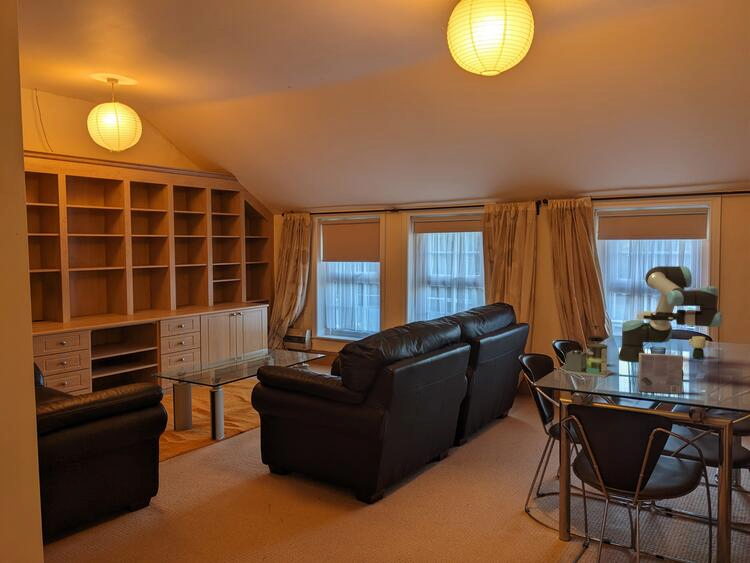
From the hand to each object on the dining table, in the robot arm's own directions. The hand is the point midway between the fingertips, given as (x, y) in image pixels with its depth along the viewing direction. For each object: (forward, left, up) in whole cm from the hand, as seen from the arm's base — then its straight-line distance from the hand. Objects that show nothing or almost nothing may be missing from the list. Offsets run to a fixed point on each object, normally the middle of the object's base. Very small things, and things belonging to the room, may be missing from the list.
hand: (639, 314), depth 304 cm
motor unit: (+5, -24, -32) cm, 40 cm away
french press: (-15, -26, -32) cm, 44 cm away
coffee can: (+5, -20, -31) cm, 37 cm away
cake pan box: (+30, +15, -32) cm, 47 cm away
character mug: (-74, +19, -32) cm, 83 cm away
